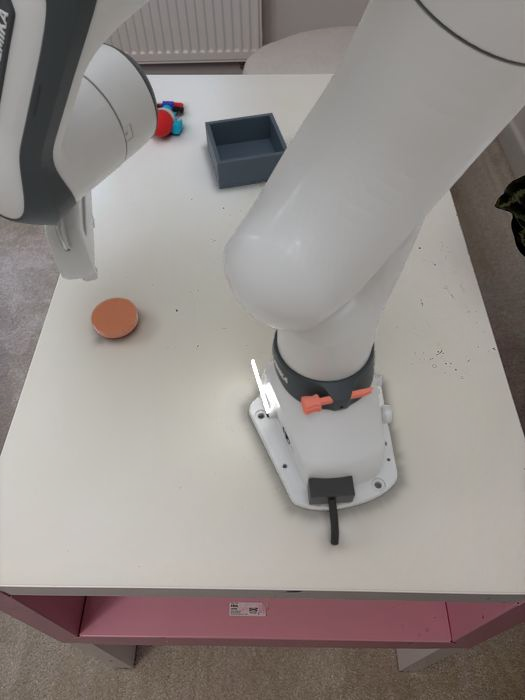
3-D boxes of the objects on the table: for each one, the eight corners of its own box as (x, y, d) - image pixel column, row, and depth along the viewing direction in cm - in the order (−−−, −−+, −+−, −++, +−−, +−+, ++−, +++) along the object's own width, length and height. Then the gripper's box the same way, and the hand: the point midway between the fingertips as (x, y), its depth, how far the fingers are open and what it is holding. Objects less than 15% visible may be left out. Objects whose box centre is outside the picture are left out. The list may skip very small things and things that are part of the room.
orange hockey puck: (141, 337, 79) (138, 328, 77) (96, 346, 78) (92, 336, 76) (137, 303, 83) (134, 294, 81) (94, 311, 82) (90, 301, 80)
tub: (288, 178, 100) (289, 152, 96) (219, 189, 99) (217, 163, 94) (272, 137, 108) (272, 112, 103) (207, 147, 106) (204, 122, 102)
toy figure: (153, 112, 116) (141, 141, 106) (151, 89, 113) (139, 116, 102) (187, 115, 117) (179, 144, 106) (186, 92, 113) (178, 119, 103)
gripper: (86, 217, 51) (119, 306, 62) (81, 104, 62) (110, 197, 74) (20, 227, 50) (65, 315, 62) (27, 111, 62) (64, 204, 73)
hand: (89, 250), depth 68 cm, fingers open, 8 cm apart
